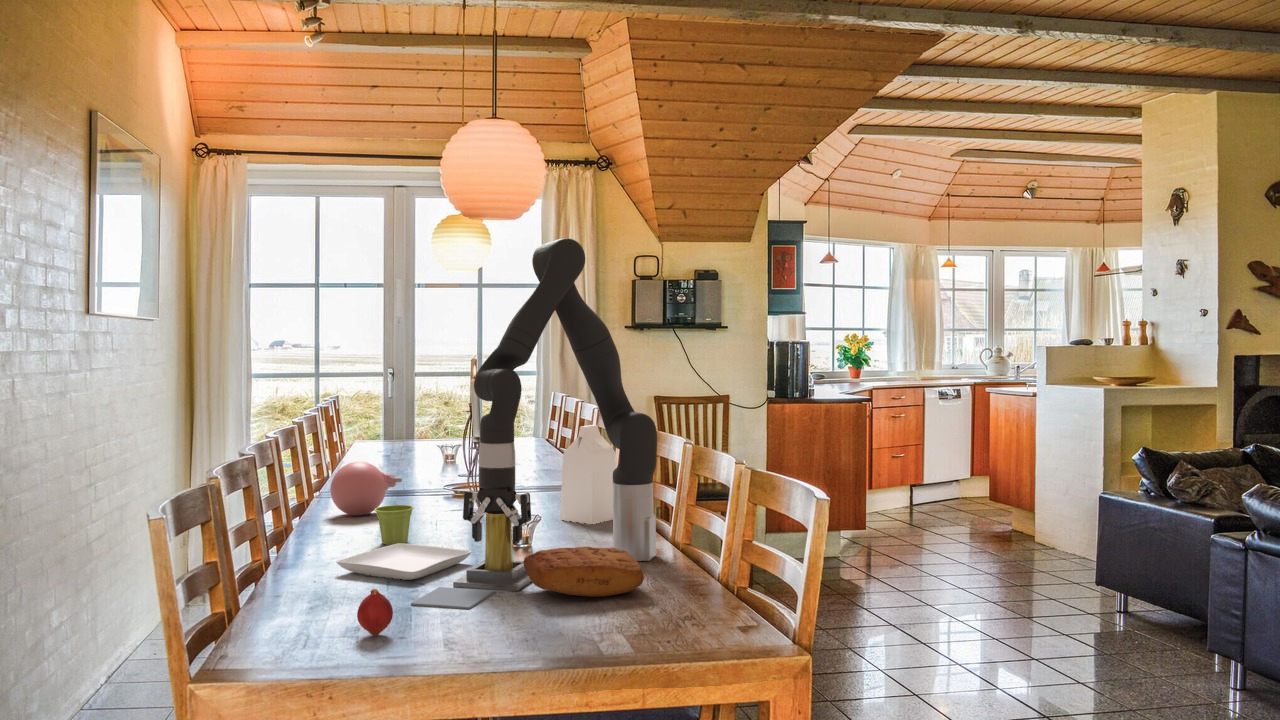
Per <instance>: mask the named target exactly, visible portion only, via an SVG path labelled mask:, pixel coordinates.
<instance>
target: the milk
mask: <svg viewBox="0 0 1280 720" xmlns="http://www.w3.org/2000/svg"><path fill="white" fill-rule="evenodd" d="M577 435H578V437H576V438H575V439H574V441H573V442H571V444H570V445H569V446H568V447H567V448H566V449H565V451H564V452H563V454H562V467H561V468H562V469H561V486H560V487H561V492H560V508H559V509H560V513H559V520H560V521H562V520H564V521H563V522H569V521H572V523H576V522H579V524H584V523H586V524H585V525H591V524H593V525H597V524H601V523H605V522H608V521H613V471H614V470H615V469H616V468H617V455H616V452H615V449H614V448H613V447H612V445H611V444H610V443H609V442H608V441H607V440H606V439H605V438H604V437H603V436H602V434H601V432H600V429H599V427H598V424H589V425H583V426H579V429H578V434H577ZM604 521H605V522H604ZM600 522H601V523H600ZM596 523H597V524H596Z"/></svg>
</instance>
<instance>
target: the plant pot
mask: <svg viewBox="0 0 1280 720" xmlns="http://www.w3.org/2000/svg"><path fill="white" fill-rule="evenodd" d="M413 510H414V506H413V505H410V504H393V505H392V504H390V505H383V506H382V505H381V506H379V507H378V508H375V510H374V512H375V513H376V517H377V518H378V525H379V531H380V538H381V542H382V544H383V545H384V546H385V545H386V546H390V545H394V544H398V543H403V544H407V543H408V540H409V530H410V522H411V516H412V512H413Z"/></svg>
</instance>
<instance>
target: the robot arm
mask: <svg viewBox="0 0 1280 720" xmlns="http://www.w3.org/2000/svg"><path fill="white" fill-rule="evenodd" d="M531 259H532V261H531V262H532V269H533V270H534V271H533V272H534V274H535V277H536V278H537V280H538V282H539V283H538V284H537V286H536V288H535V289H534V290H533V292H532V294H531V295H530V296H529V298H527V300H526V301H525V302H524V304H523V305H522V306H521V307H520V308H519V310H517V312H516V313H515V315H514V316H513V317H512V319H511V321H510V323H509V324H508V326H507V328H506V330H505V332H504V333H503V335H502V337H501V340H500V342H499V343H498V346H497V347H496V348H495V349H494V350H493V351H492V352H491V353H490V354H489V356H488V357H487V358H486V360H485V361H483V363H482V365H480V367H479V368H478V370H477V372H476V374H475V377H474V380H473V381H474V382H473V390H474V393H475V395H476V396H477V397H478V398H479V399H480V400H482V401H485V402H491V406H490V411H489V413H486V414H484V415H482V417H481V418H480V423H479V429H480V430H479V448H478V461H477V462H478V491H474V490H472V489H471V490H467V491H464V494H463V495H464V497H463V507H462V509H463V511H462V519H463V520H464V521H468V522H470V523H471V536H472V537H471V538H472V539H473V541H474V543H479V542H481V541H482V539H483V538H482V537H483V535H482V533H483V530H482V529H483V523H482V522H481V521H482V519H483V518H484V516H486V512H488V513H498V514H503V513H505V514H506V516H507V517H508V518H510V520H511V524H513V526H512V544H513V545H517V544H520V541H522V540H523V525H524V524H526V523H527V524H528V523H529V522H531V521H532V508H531V506H532V505H531V494H530V493H529V492H525V493H517V491H516V449H515V447H516V446H515V421H516V417H517V414H518V411H519V405H520V401H521V397H522V389H523V388H522V382H521V378H520V376H519V375H518V373H517V372H516V371H515V369H517V368H519V367H523V365H525V364H527V362H529V360H530V358H531V356H532V354H533V352H534V350H535V348H536V346H537V344H538V342H539V340H540V338H541V335H542V334H543V332H544V330H545V328H546V327H547V324H548V323H549V321H550V320H551V317H552V316H553V315H554V312H555V313H556V316H557V318H558V319H559V322H560V324H561V327H562V329H563V331H564V333H565V335H566V337H567V339H568V342H569V345H570V347H571V350H572V352H573V355H574V357H575V359H576V361H577V363H578V365H579V367H580V369H581V371H582V374H583V375H584V379H585V380H586V383H587V386H588V387H589V389H590V392H591V393H592V395H593V397H594V400H595V402H596V404H597V407H598V411H599V414H600V416H601V420H602V423H603V427H604V431H605V433H606V435H607V437H608V440H609V442H610V443H611V444H612V446H614V448H616V449H618V450H619V458H618V465H617V466H616V469H615V470H614V471H613V519H612V540H613V542H612V545H613V547H612V548H617V549H618V550H624V551H626V552H628V553H629V554H630V555H631V556H632V557H633V558H634V559H635V560H636V561H637V562H642V561H645V562H646V561H647V562H648V561H649V562H650V561H651V560H652V559H654V558H655V557H656V556H657V530H656V529H657V527H656V526H657V525H656V523H657V521H656V519H657V517H656V514H655V513H654V474H655V471H656V469H657V457H658V456H657V455H658V449H657V448H658V431H657V426H656V423H655V421H654V420H653V418H651V417H650V416H649V415H648V414H645V413H642V412H638V411H635V409H634V408H633V406H632V404H631V402H630V400H629V399H628V397H627V396H628V395H627V394H626V392H625V389H624V386H623V382H622V381H623V379H622V368H621V359H620V354H619V351H618V349H617V347H616V346H617V345H616V344H615V342H614V339H613V337H612V334H611V333H610V330H609V329H608V327H607V326H606V324H605V322H604V321H603V319H601V318H600V316H599V315H598V314H597V313H596V312H595V311H593V309H592V308H591V307H590V306H589V305H588V304H587V303H586V301H585V300H584V299H583V298H582V296H581V294H580V292H579V291H578V289H577V286H576V283H575V282H576V280H577V279H578V277H579V276H580V275H581V273H582V271H583V269H584V267H585V264H586V254H585V251H584V248H583V246H582V245H581V244H580V242H578V241H577V240H575V239H573V238H567V237H565V238H559V239H555V240H552V241H549V242H546V243H543V244H540V245H539V246H538V247H537V248H536V249H535V250H534V252H533V255H532V258H531ZM476 500H478V501H479V503H480V506H479V507H478V508H477V510H476V511H475V513H474V507H475V505H474V504H475V502H476ZM516 501H517V502H518V505H520V513H519V510H518V509H517V507H516V506H515V504H514V503H515V502H516Z"/></svg>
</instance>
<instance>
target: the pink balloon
mask: <svg viewBox="0 0 1280 720" xmlns="http://www.w3.org/2000/svg"><path fill="white" fill-rule="evenodd" d="M402 482H403V479H402V477H397V476H395V475H394V474H393V473H391V474H388V473H384V472H382V471H381V470H380V469H379V468H378V467H376V466H375V465H373V464H371V463H369V462H365V461H353V462H349V463H347V464H345V465H343V466H342V467H341V468H340V469H338V470H337V472H336V473H335V475H334V476H333V477H332V479H331V483H330V496H331V499H332V502H333V504H334V506H336V507H337V508H338V510H340V511H341V512H343V513H344V514H347V515H349V516H353V517H354V516H356V517H359V516H366V515H368V514H371V513H372V512H375V508H378V507H380V505H381V504H382V503H383V501H384V499H385V497H386V493H387V491H388V489H390V488H394V487H396V485H397V483H402Z"/></svg>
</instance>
